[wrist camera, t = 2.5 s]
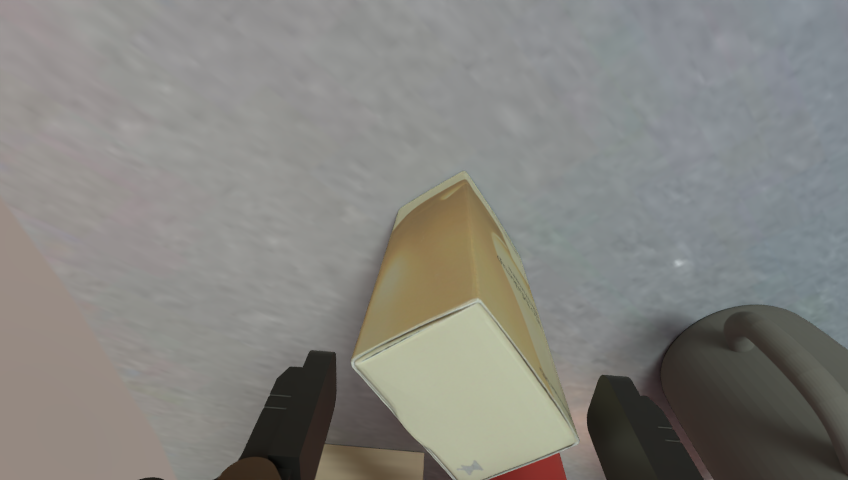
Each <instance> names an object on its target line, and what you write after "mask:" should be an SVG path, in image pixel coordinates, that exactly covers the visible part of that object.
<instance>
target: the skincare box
mask: <svg viewBox="0 0 848 480" xmlns="http://www.w3.org/2000/svg"><path fill="white" fill-rule="evenodd" d="M351 366H352V367H353V369H354V370H355V371H356V372H357V373H358V374H359V375H360V376H361V377H362V378H363V380H364V381H365V382H366V383H367V384H368V385H369V386H370V388H371V389H372V390H373V391H374V392H375V393H376V394H377V395H378V396H379V398H380V399H381V400H382V401H383V402H384V403H385V404H386V405H387V407H388V408H389V409H390V410H391V411H392V412H393V414H394V415H395V416H396V417H397V418H398V420H399V421H400V422H401V423H402V425H403V426H404V427H405V429H406V430H407V431H408V432H409V433H410V434H411V435H412V436H413V437H414V438H415V439H416V440H417V441H418V442H419V443H420V444H421V445H422V446H423V447H424V448H425V449H426V450H427V451H428V452H429V453H430V455H431V456H432V457H433V458H434V459H435V460H436V461H437V462H438V463H439V464H440V465H441V467H442V468H443V469H444V470H445V471H446V472H447V473H448V475H449V476H450V477H451V478H452V479H453V480H488V479H491V478H494V477H497V476H499V475H502V474H505V473H507V472H510V471H513V470H515V469H518V468H520V467H523V466H526V465H529V464H531V463H534V462H536V461H539V460H542V459H544V458H547V457H550V456H552V455H554V454H557V453H559V452H561V451H564V450H566V449H568V448H571V447H574V446H576V445H578V444H579V437H578V435H577V432H576V429H575V426H574V423H573V420H572V417H571V414H570V411H569V408H568V405H567V403H566V399H565V396H564V393H563V390H562V387H561V384H560V381H559V378H558V375H557V372H556V368H555V365H554V362H553V359H552V356H551V353H550V350H549V347H548V343H547V340H546V337H545V334H544V331H543V328H542V324H541V321H540V318H539V315H538V312H537V309H536V306H535V303H534V300H533V297H532V294H531V290H530V287H529V284H528V281H527V278H526V274H525V271H524V268H523V265H522V262H521V259H520V256H519V255H518V253H517V251H516V249H515V247H514V246H513V244H512V242H511V240H510V239H509V237H508V235H507V234H506V232H505V230H504V229H503V227H502V225H501V224H500V222H499V221H498V219H497V217H496V216H495V214H494V212H493V211H492V209H491V208H490V206H489V205H488V203H487V202H486V200H485V199H484V197H483V196H482V194H481V193H480V192H479V190H478V189H477V187H476V186H475V184H474V183H473V181H472V180H471V178H470V177H469V175H468V174H467V173H466V172H465V171H462V172H460V173H459V174H457V175H455V176H453V177H452V178H450V179H448V180H446V181H445V182H443V183H441V184H439V185H438V186H436V187H434V188H433V189H431V190H429V191H428V192H426V193H424V194H423V195H421V196H419V197H418V198H416V199H414V200H413V201H411V202H409V203H408V204H406V205H405V206H403V207H402V208H400V209H399V211H398V214H397V217H396V220H395V224H394V227H393V230H392V233H391V236H390V239H389V243H388V246H387V249H386V252H385V255H384V258H383V261H382V264H381V268H380V271H379V274H378V277H377V280H376V283H375V286H374V290H373V293H372V296H371V299H370V302H369V305H368V308H367V312H366V315H365V318H364V321H363V324H362V327H361V330H360V333H359V337H358V340H357V343H356V346H355V349H354V352H353V355H352V358H351Z"/></svg>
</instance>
